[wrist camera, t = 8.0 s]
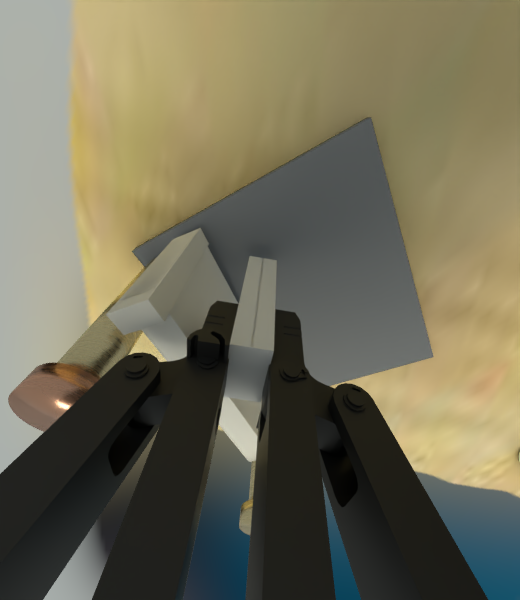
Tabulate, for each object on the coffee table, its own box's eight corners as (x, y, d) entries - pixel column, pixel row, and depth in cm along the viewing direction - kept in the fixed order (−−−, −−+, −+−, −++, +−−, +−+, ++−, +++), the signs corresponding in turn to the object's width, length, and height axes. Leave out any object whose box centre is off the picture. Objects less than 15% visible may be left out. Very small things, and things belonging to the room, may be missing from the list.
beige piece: (276, 370, 21) (275, 471, 15) (254, 375, 21) (245, 475, 15) (200, 227, 15) (148, 299, 9) (172, 239, 15) (105, 314, 9)
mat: (367, 117, 13) (370, 117, 13) (429, 351, 21) (433, 356, 21) (136, 247, 18) (132, 251, 17) (258, 399, 26) (258, 405, 25)
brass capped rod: (169, 240, 17) (45, 376, 8) (195, 275, 19) (113, 427, 9) (136, 258, 18) (-10, 400, 9) (163, 290, 19) (59, 443, 10)
